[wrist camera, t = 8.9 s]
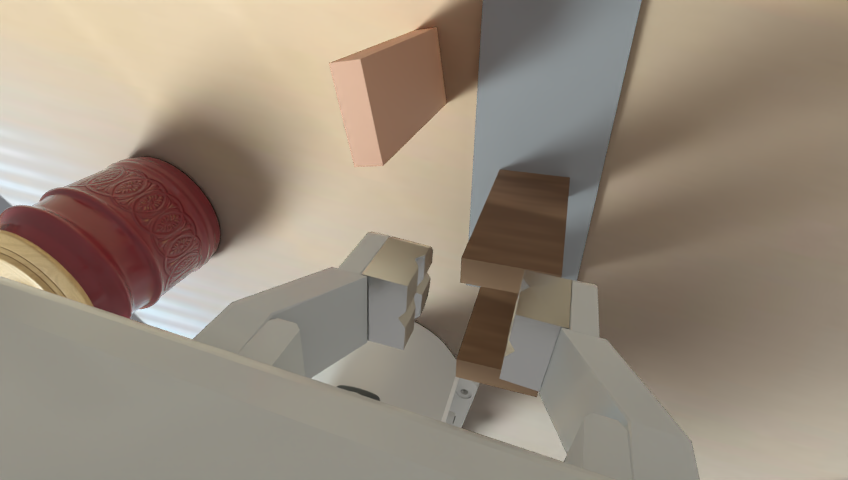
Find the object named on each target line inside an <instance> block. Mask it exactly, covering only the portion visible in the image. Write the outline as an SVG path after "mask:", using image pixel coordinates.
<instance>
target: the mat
mask: <svg viewBox="0 0 848 480" xmlns="http://www.w3.org/2000/svg"><path fill="white" fill-rule="evenodd" d="M641 1H642V0H483V5H482V22H481V39H480V56H479V73H478V90H477V108H476V125H475V142H474V159H473V176H472V193H471V210H470V227H469V239H470V237H471V235H472V232H473V230H474V228H475V225H476V223H477V221H478V218H479V216H480V214H481V211H482V209H483V207H484V204H485V202H486V200H487V198H488V195H489V193H490V191H491V188H492V186H493V184H494V181H495V179H496V177H497V174H498V172H499V170H500V169H501V170H510V171H519V172H527V173H536V174H544V175H553V176H562V177H570V184H569V196H568V208H567V220H566V232H565V244H564V256H563V268H562V277H561V278H564V279H569V280H576V281H577V278H578V274H579V269H580V265H581V261H582V256H583V252H584V248H585V243H586V239H587V235H588V230H589V226H590V222H591V217H592V213H593V209H594V205H595V200H596V196H597V192H598V187H599V183H600V179H601V174H602V170H603V166H604V161H605V157H606V153H607V148H608V144H609V140H610V135H611V131H612V127H613V122H614V118H615V114H616V109H617V105H618V101H619V96H620V92H621V88H622V84H623V79H624V75H625V71H626V66H627V62H628V58H629V53H630V49H631V45H632V40H633V36H634V32H635V27H636V23H637V19H638V14H639V10H640V6H641ZM466 285H469V286H474V287H481V286H476V285H471V284H466Z"/></svg>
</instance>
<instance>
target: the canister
mask: <svg viewBox="0 0 848 480" xmlns="http://www.w3.org/2000/svg"><path fill="white" fill-rule="evenodd" d="M219 242H220V228H219V223H218V220H217V217H216V214H215V212H214V210H213V208H212V206H211V204H210V202H209V201H208V199H207V197H206V196H205V195H204V193H203V192H202V191H201V189H200V188H199V187H198V186H197V185H196V184H195V183H194V182H193V181H192V180H191V179H190V178H189V177H188V176H187V175H185V174H184V173H183V172H182V171H180V170H179V169H177V168H176V167H174V166H173V165H171V164H169V163H167V162H165V161H162V160H160V159H157V158H153V157H136V158H132V159H124V160H121V161H119V162H117V163H114V164H111V165H110V166H108V167H107V168H106V169H105V170H103V171H100V172H98V173H96V174H93V175H91V176H89V177H86V178H84V179H81V180H79V181H77V182H74V183H72V184H70V185H67V186H65V187H63V188H55V189H52V190H49V191H48V192H46V193H45V194H44V195H43V196H42V197H41V199H40V201H39V202H38V203H36V204H35V205H33V206H27V205H17V206H12V207H9V208H7V209H6V210H4V211H3V212H2V213H1V215H0V276H2V277H5V278H8V279H11V280H14V281H17V282H20V283H23V284H26V285H29V286H32V287H35V288H38V289H41V290H44V291H47V292H50V293H53V294H56V295H59V296H62V297H65V298H68V299H71V300H74V301H77V302H80V303H83V304H86V305H90V306H93V307H96V308H99V309H102V310H105V311H108V312H111V313H114V314H117V315H120V316H123V317H126V318H129V319H131V316H132V313H134V312H135V311H137V310H138V309H145V308H148V307H150V306H152V305H154V304H155V303H156V302H157V301H158V300H159V298H160V297H161V296H162V295H163V294H165V293H166V292H167V291H168V290H170V289H171V288H172V287H173V286H175V285H176V284H177V283H179V282H180V281H181V280H182V279H184V278H185V277H186V276H188V275H189V274H190V273H192V272H194V271H196V270H198V269H200V268H201V267H202V266H203V265H204V264H206V263H207V262H208V261H209V259H210V258H211V256H212V255H213V254H214V253H215V252H216V250H217V248H218V246H219Z"/></svg>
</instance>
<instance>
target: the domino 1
mask: <svg viewBox="0 0 848 480" xmlns="http://www.w3.org/2000/svg"><path fill="white" fill-rule="evenodd" d="M329 66H330V70H331V74H332V78H333V82H334V86H335V90H336V94H337V98H338V102H339V106H340V110H341V114H342V118H343V122H344V126H345V130H346V134H347V138H348V143H349V147H350V151H351V155H352V159H353V163H354V167H365V166H383V165H384V164H385V163H386V162H387V161H388V160H389V159H390V158H391V157H393V156H394V155H395V154H396V153H397V152H398V151H399V150H400V149H401V148H402V147H403V146H404V145H405V144H406V143H407V142H408V141H409V140H410V139H411V138H412V137H413V136H414V135H415V134H416V133H417V132H418V131H419V130H420V129H421V128H422V127H423V126H424V125H425V124H426V123H427V122H428V121H429V120H430V119H431V118H432V117H433V116H434V115H435V114H436V113H437V112H438V111H439V110H440V109H441V108H442V107H443V106H445V105H446V104H447V102H446V94H445V87H444V79H443V71H442V63H441V55H440V47H439V39H438V31H437V27H434V28H428V29H421V30H414V31H412V32H409V33H407V34H404V35H401V36H399V37H396V38H393V39H391V40H388V41H386V42H383V43H380V44H378V45H375V46H372V47H370V48H367V49H365V50H362V51H359V52H357V53H354V54H352V55H349V56H346V57H344V58H341V59H338V60H336V61H333V62H331V63H329Z"/></svg>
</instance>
